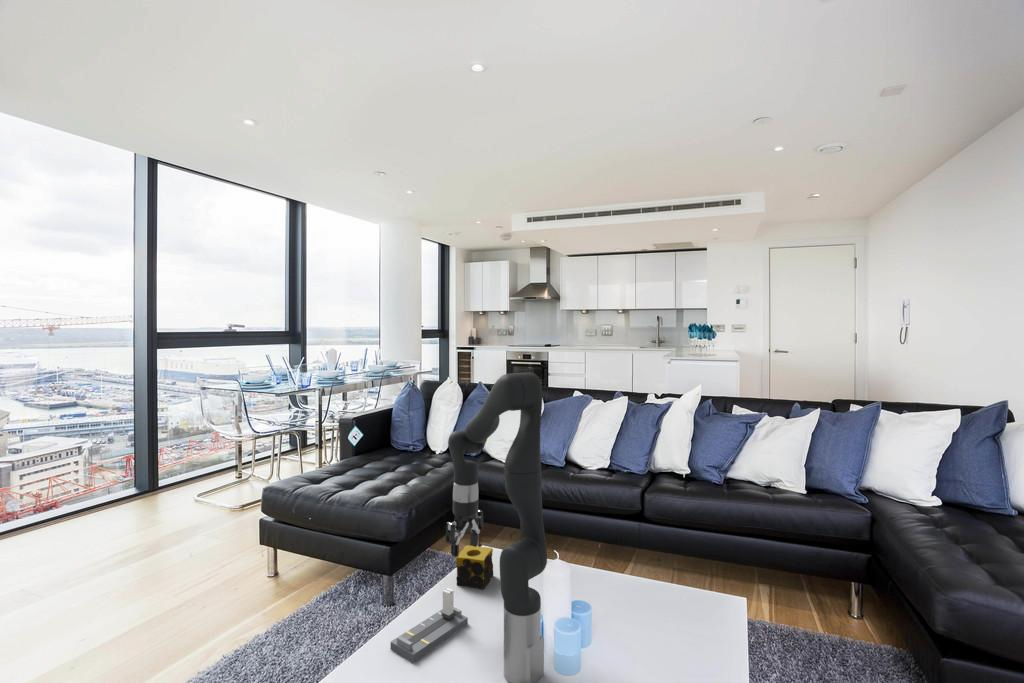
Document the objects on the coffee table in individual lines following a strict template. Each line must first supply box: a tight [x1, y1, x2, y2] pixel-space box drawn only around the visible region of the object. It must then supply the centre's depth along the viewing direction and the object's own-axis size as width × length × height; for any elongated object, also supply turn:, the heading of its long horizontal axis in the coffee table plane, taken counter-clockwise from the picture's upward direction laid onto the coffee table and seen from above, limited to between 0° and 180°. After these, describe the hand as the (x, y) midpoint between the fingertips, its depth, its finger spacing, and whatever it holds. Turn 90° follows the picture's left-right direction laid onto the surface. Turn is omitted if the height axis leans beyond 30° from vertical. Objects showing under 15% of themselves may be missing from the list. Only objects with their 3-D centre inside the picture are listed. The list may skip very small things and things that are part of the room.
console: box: [390, 606, 469, 663], centre depth 141 cm, size 9×21×4 cm, turn 143°
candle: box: [455, 545, 494, 590], centre depth 172 cm, size 10×10×10 cm
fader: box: [442, 587, 455, 619], centre depth 147 cm, size 3×2×8 cm
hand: (464, 550), depth 149 cm, fingers open, 8 cm apart
